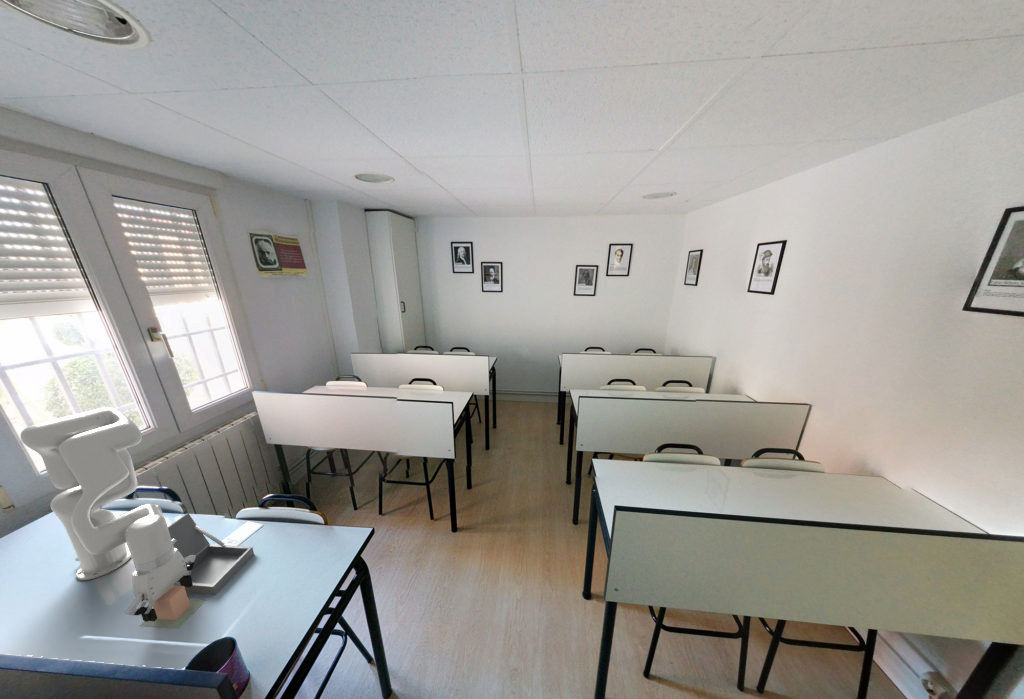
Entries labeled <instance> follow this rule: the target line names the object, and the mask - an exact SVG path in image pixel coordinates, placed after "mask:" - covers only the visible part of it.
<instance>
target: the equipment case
mask: <svg viewBox="0 0 1024 699" xmlns="http://www.w3.org/2000/svg"><path fill="white" fill-rule="evenodd" d="M167 527H168V530H169V533H170V536H171V539H176V540H177V542H176V543H175V544H174V548H176V549H177V550H178V551H179V552H180V553H181V555H182V556H183V558H184V557H187V556H189V555H196V557H195V561H194V566H193V568H192V570H191V571H192V574H191V578H192V584H193V585H192V586H191V587H185V590H186V593H187V594H196V595H210V596H211V595H212V596H216V595H217V594H218V593H219V592H220V591H221V590H222V589H223V588H224V587H225V586H226V585H227V583H229V581H230V580H231V579H233V577H234V576H235V575H236V574H237V573H238V572H239V571H240V570H241V569H242V568H243V567H244V566H245V564H246V563H247V562H248V561H249V560H251V558H252V557H253V556H255V552H254V548H253V547H254V546H247V545H246V546H243V545H239V546H231V545H224V544H225V543H223V542H222V540H220V539H219V538H217V537H216V536H214V535H213V534H211V533H209V532H208V531H207V530H205V529H204V528H202V527H201V526H198V524H197V523H196V522H195V521H194V519H193V518H192V516H191V515H190V513H185V514H184V515H182V516H181V517H180V518H178V519H176V520H175V521H174V522H173V523H172V524H170V525H169V526H167ZM207 538H208V539H210V540H212V542H214V543H216V544H213V543H212V544H211V543H210V541H208V539H207ZM217 544H219V545H217ZM186 564H187V562H186ZM173 586H181V584H180V581H179V580H178V581H177V582H176V583H175V584H174V585H173Z"/></svg>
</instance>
